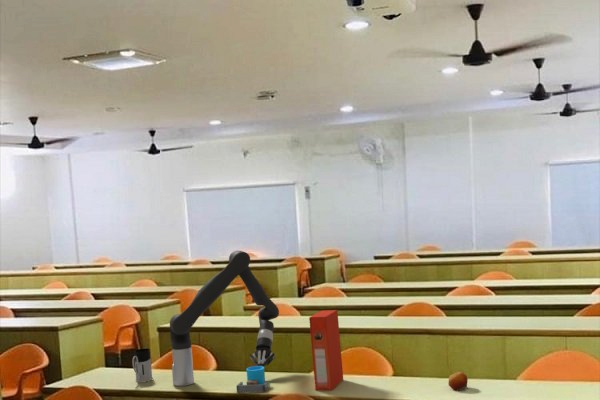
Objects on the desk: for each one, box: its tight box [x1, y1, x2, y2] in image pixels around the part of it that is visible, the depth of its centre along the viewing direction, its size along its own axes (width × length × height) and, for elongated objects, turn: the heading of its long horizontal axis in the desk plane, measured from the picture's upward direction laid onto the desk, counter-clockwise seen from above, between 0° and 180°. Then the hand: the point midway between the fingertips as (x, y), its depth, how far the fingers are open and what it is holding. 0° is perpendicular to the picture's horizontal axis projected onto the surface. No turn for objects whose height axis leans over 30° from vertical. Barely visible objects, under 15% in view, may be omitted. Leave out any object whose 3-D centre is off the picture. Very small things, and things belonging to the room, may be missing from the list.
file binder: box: [308, 309, 344, 391], centre depth 291 cm, size 8×17×32 cm, turn 160°
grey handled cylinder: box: [131, 348, 154, 383], centre depth 323 cm, size 9×14×15 cm, turn 166°
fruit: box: [448, 371, 469, 391], centre depth 270 cm, size 8×8×8 cm
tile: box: [246, 380, 258, 385], centre depth 292 cm, size 4×4×4 cm
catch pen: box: [235, 380, 270, 393], centre depth 292 cm, size 13×6×3 cm, turn 79°
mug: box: [246, 365, 266, 385], centre depth 300 cm, size 12×8×8 cm
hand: (260, 372), depth 306 cm, fingers closed
